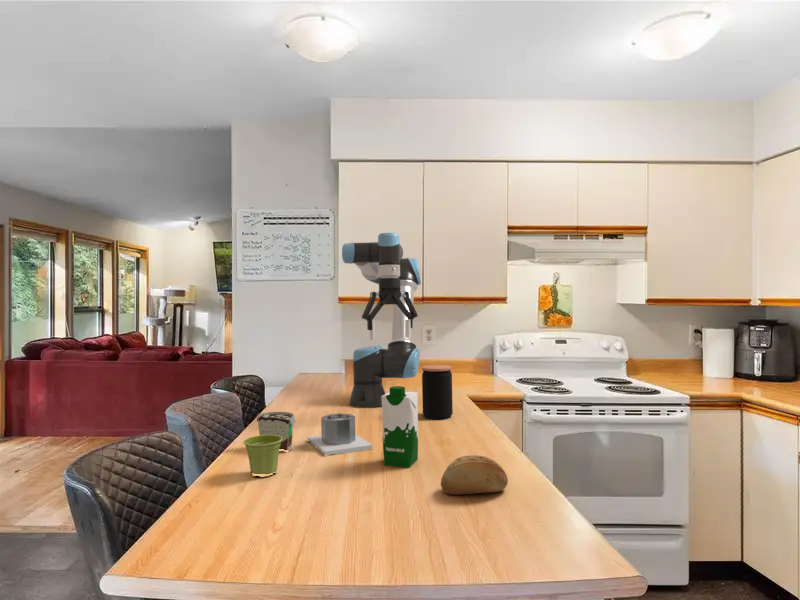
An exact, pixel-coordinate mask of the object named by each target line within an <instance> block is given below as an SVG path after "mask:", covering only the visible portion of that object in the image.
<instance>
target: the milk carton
mask: <svg viewBox="0 0 800 600" xmlns="http://www.w3.org/2000/svg"><path fill="white" fill-rule="evenodd" d="M418 397H419V393H418V392H416V391H406V387H405V386H403V385H401V386H400V385H399V386H398V385H397V386H396V385H395V386H390V387H389V392H386V393H385V395H383V396H381V399H382V406H381V415H382V451H383V466H388V467H389V466H390V467H401V468H411V466H412V465H414V464H415V463H416V462H417V461H418V460H419V459H418V458H419V457H418V456H419V416H418V411H419V410H418V407H419V406H418V405H419V403H418Z"/></svg>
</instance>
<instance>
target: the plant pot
mask: <svg viewBox="0 0 800 600" xmlns="http://www.w3.org/2000/svg"><path fill="white" fill-rule="evenodd" d="M281 441H282V437H281V436H278V435H260V434H259V435H254V436H250V437H247V438H245V439H244V440H243V444H244V445H245V449H246V451H247V457H248V462H249V467H250V473H251V472H252V473H254V474H270V473H273V472H276V471H278V462H279V455H280V452H279V447H280V445H281Z"/></svg>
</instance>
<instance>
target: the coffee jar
mask: <svg viewBox="0 0 800 600" xmlns="http://www.w3.org/2000/svg"><path fill="white" fill-rule="evenodd" d="M452 369H453V366H451V365H447V364H428V365H423V366H422V367H421V370H422V374H421V385H422V386H421V389H422V397H421V398H422V399H421V400H422V415H423V417H424V418H425V419H426V420H431V419H432V421H441V420H442V421H443V419H444V420H447V419H448V418H449V419H451V417H452V416H453V412H454V411H453V409H454V408H453V373H452V371H451V370H452ZM449 419H448V420H449Z"/></svg>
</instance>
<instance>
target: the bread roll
mask: <svg viewBox="0 0 800 600" xmlns="http://www.w3.org/2000/svg"><path fill="white" fill-rule="evenodd" d="M506 473H507V472H506V471H505V470H504V469H503V467H502V466H501V464H499V463H498V462H496V461H495V460H493V459H492V458H489V457H487V456H485V455H484V456H483V455H476V454H475V455H474V454H473V455H469V454H468V455H463V456H460V457H458V458H455V459H454V460H453V461H451V462H450V463H449V464H448V466H447V467H446V469H445V471H444V473H443V474H442V476H441V480H440V487H441V490H442V491H443V492H444V493H447V494H448V495H469V494H483V493H495V492H500V491H503V490H504V489H505V488H507V486H508V484H509V483H508V481H509V479H508V475H507V474H506Z"/></svg>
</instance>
